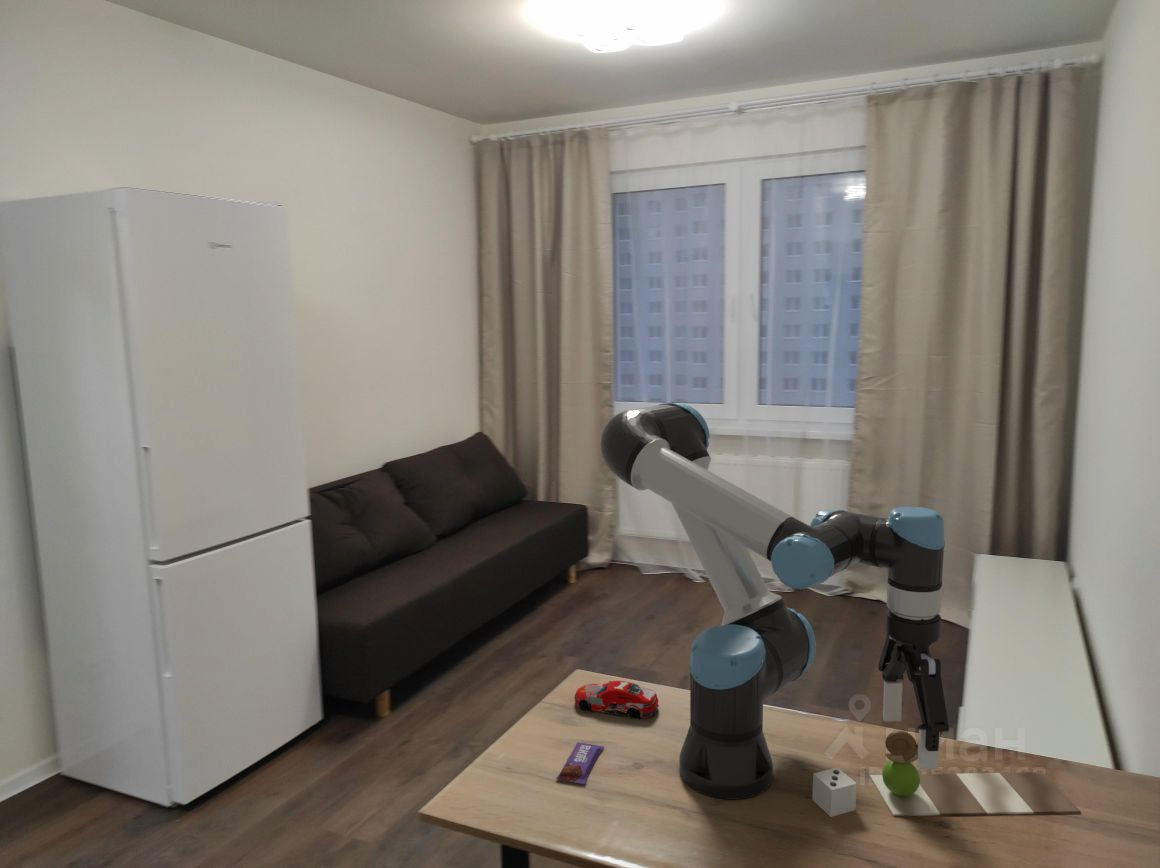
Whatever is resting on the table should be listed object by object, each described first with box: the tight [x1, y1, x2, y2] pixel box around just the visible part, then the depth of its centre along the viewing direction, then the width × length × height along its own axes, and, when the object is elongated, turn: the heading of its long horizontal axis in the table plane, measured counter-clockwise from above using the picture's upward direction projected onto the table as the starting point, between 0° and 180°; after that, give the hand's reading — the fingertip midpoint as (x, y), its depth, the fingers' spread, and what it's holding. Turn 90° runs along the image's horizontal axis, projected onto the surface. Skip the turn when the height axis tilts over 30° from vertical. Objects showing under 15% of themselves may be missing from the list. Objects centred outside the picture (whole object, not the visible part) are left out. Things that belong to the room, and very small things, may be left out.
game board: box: [869, 771, 1081, 817], centre depth 125 cm, size 28×10×1 cm, turn 90°
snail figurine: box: [881, 730, 920, 796], centre depth 124 cm, size 5×6×12 cm
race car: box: [574, 680, 660, 720], centre depth 153 cm, size 16×7×5 cm, turn 69°
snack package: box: [555, 741, 605, 785], centre depth 135 cm, size 12×2×5 cm
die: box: [811, 767, 857, 818], centre depth 123 cm, size 4×4×5 cm
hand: (908, 742), depth 123 cm, fingers open, 13 cm apart
